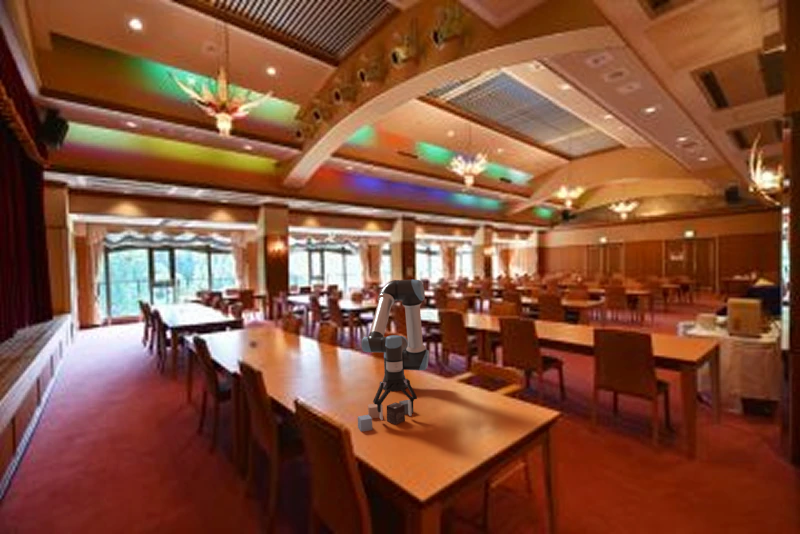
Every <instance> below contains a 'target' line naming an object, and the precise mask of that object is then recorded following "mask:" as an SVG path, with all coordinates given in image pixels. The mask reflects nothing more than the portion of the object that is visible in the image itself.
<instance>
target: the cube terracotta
mask: <svg viewBox="0 0 800 534" xmlns="http://www.w3.org/2000/svg"><path fill="white" fill-rule="evenodd" d="M367 413H368V414H367V415H369V416H370V417H371V418H372V419H377V418H379V419H380V412H378V411H377V404H374V403H368V404H367Z"/></svg>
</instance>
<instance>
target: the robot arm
mask: <svg viewBox="0 0 800 534" xmlns="http://www.w3.org/2000/svg"><path fill="white" fill-rule="evenodd" d="M425 297H426V295H425V287H424V283H423V282H422V281H421V280H420V279H395V280H391V281H388V282H387V283H386V284H385V285H383V287H382V288H381V289H380V291H379V293H378V295H377V299H376V300H377V305H376V309H375V312H374V316H373V319H372V323H371V327H370V331H369V334H368V336H363V338H362V339H361V350H362V351H363V352H365V353H371V354H372V353H383V365H384V366H383V368H384V375H383V378H382V381H379V386H378V388H377V392H376V394H375V396H374V398H373V401H372V402H373V403H372V404H377V411H378V412H380V418H379V419H380V421H383V420H384V418H383V417H384V414H383V411H384V410H383V409H384V407H383V404H382V403H383V402H384V400H385V399H386V398H387V396H388V395H389V394H390V393H391V392H399V391H402V392H403V394H404V395H405V396H406V397H407V398H408V399H407V400H408V414H407V415H408V416H409V417H412V414H413V413H412V411H411V408H413V409H414V401H415V400H417V399H418V396H417V395H416V392H415V391H414V389H413V388H412V385H411V380H410V379H409V378H406V376H405V371H425V370H427V368H428V365H429V359H430V350H429V349H427V348H426V345H425V344H424V343H423V330H422V329H423V328H422V327H423V326H422V319H421V318H422V317H421V315H422V314H421V305H422V304H423V301H425ZM396 301H397V302H398V301H399V302H401V305H402V306H403V307H404V312H405V313H404V314H405V324H406V335H407V338H406V337H405V336H404V335H397V334H395V335H393V334H392V335H388V336H385V332H386V330H387V324H388V321H389V317H390V313H391V308H392V306H393V305H394V304H395V302H396ZM407 388H408V390H409V392H410V394H411V395H410V394H409V393H408V391H406V389H407ZM383 391H384V392H383ZM382 392H383V393H382Z"/></svg>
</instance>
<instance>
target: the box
mask: <svg viewBox="0 0 800 534" xmlns="http://www.w3.org/2000/svg"><path fill="white" fill-rule="evenodd" d="M386 421H387V422H388V423H390V424H393V425H398V424H400V423H403V422H404V421H406V415H405V407H404V405H403V404H400V403H399V402H392V403H390V404H388V405H386Z"/></svg>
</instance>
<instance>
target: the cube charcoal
mask: <svg viewBox="0 0 800 534" xmlns="http://www.w3.org/2000/svg"><path fill="white" fill-rule="evenodd" d="M408 400H409V399H403V400H399V401H398V403H400V404H403V405H404V407H405V416H406V415H409V414H408ZM411 411H412V414H413V413H415V411H414V407H413V408H411Z"/></svg>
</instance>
